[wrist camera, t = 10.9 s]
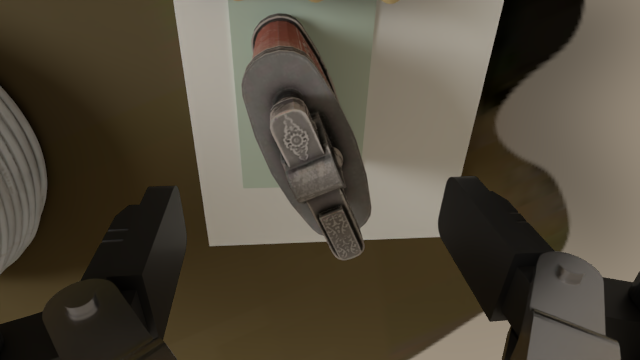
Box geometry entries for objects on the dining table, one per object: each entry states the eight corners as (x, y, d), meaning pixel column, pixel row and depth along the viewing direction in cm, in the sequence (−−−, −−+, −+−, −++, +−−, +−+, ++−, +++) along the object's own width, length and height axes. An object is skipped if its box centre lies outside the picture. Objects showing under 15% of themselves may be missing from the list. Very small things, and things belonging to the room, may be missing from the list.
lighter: (236, 29, 19) (206, 102, 11) (301, 0, 19) (323, 52, 10) (301, 163, 23) (317, 293, 15) (356, 142, 23) (403, 262, 14)
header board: (211, 236, 27) (191, 329, 21) (148, -207, 16) (61, -308, 9) (441, 227, 28) (489, 311, 22) (536, -181, 17) (691, -251, 11)
